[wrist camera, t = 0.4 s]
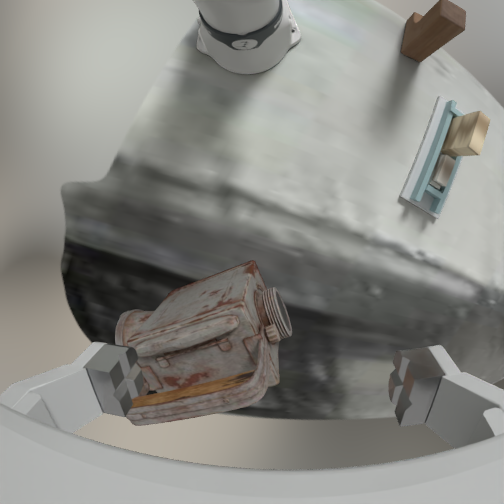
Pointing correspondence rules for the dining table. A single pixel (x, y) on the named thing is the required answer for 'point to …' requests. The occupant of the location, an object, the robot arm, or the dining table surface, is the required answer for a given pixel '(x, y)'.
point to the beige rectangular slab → (466, 135)
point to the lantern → (206, 346)
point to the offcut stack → (441, 171)
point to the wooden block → (432, 29)
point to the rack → (432, 161)
